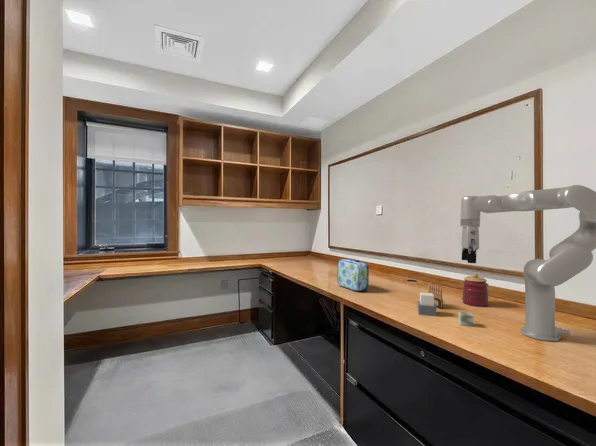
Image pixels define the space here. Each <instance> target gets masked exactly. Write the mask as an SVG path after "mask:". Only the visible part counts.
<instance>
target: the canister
mask: <svg viewBox="0 0 596 446" xmlns="http://www.w3.org/2000/svg"><path fill="white" fill-rule="evenodd" d="M463 279H464V280H463V281H462V288H461V289H462V297H461V298H462V299H461V300H462V303H463V304H465V305H467V306H472V307H487V306H489V289H488V287H489V283H487V281H488V280H487V278H484V277H482V276H479V274H478V273H476V272H475V273H473V274H472V275H468V276H465V277H464V278H463Z"/></svg>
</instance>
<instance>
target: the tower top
mask: <svg viewBox="0 0 596 446" xmlns="http://www.w3.org/2000/svg"><path fill="white" fill-rule="evenodd" d="M419 301H420V303H421V305H428V306H434V295H433V294H432V293H428V292H419Z"/></svg>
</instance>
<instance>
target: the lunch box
mask: <svg viewBox="0 0 596 446" xmlns="http://www.w3.org/2000/svg"><path fill="white" fill-rule="evenodd" d="M369 269H370V268H369V264H368V263H367V262H364V261H361V260H360V259H359V260H358V259H352V258H344V259H343V258H342V259H339V260H338V263H337V275H336V277H337V278H336V279H337V284H338V286H339V287H341V288H345V289H348V290H352V291H353V292H359V291H360V292H361V291H362V292H363V291H367V290H368V288H369V284H370V283H369V282H370V281H369V278H370V277H369V276H370V275H369V272H370V271H369Z"/></svg>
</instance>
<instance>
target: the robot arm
mask: <svg viewBox="0 0 596 446" xmlns="http://www.w3.org/2000/svg"><path fill="white" fill-rule="evenodd" d="M569 208H570V209H571V208H574V209H575V210H577V211H579V214H578V220H579V227H578V228H577V230H576V231H574V232H573V233H572V234H570V235H569V236H568V237H566V238H565V239H563V240H562V241H560V242H558V243H557V244H556V245H554V246H553V247H552V248H550V250H549V252H548V257H549V258H548V259H542V258H533V259H530V260H528V261H527V262H526V263H525V265H524V267H523V279H524V327H521V328H520V330H519V331H520V333H521V334H522V335H524V336H526V337H529V338H532V339H535V340H539V341H544V342H545V341H546V342H558V341H560V340H561V335H566V336H570V335H571V331H570V329H563V328H562V327H557V326H556V289H555V287H557V286H561V285H562V284H564V283H566V282H568V281H569V280H571V279H573V278H574V277H576V276H577V275H578V274H580V273H582V272H583V271H585V270H586V269H588V267H590V266H591V264H592V263H593V260H594V254H593V251H594V250H596V191H595V190H594V189H591V188H589V187H588V186H585V185H581V184H574V185H569V186H564V187H555V188H546V189H535V190H534V189H532V190H526V191H525V190H524V191H521V192H517V193H512V194H507V195H494V194H493V195H491V194H490V195H482V196H480V195H479V196H477V195H466V196H462V197H461V201H460V227H461V228H462V230H461V247H462V249H461V260H462V261H467V263H468V264H477V253H478V252H477V250H479V249H480V230H479V228H480V227H481V212H482V213H484V214H496V213H509V212H531V211H546V210H558V209H569Z"/></svg>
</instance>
